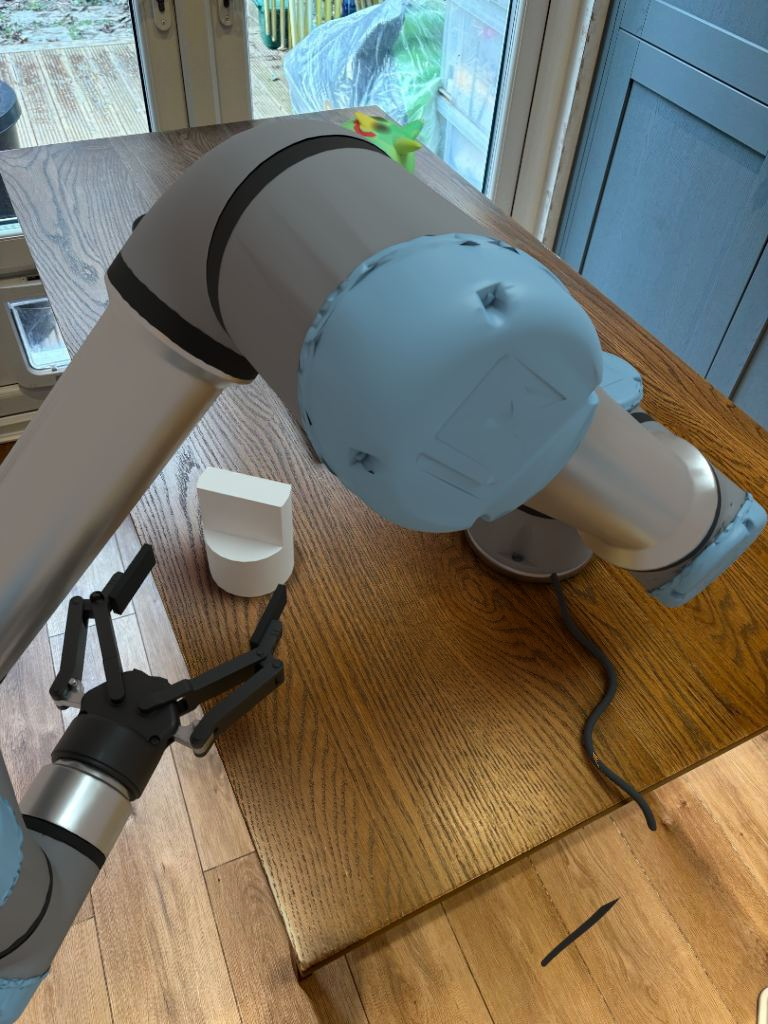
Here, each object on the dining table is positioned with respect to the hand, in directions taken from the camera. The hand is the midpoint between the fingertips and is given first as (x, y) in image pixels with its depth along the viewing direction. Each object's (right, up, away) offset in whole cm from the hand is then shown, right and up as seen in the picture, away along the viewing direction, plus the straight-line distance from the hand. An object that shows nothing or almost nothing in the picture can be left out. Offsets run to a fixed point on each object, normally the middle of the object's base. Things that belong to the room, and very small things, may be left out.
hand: (216, 572), depth 71 cm
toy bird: (+14, +62, +66) cm, 92 cm away
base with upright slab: (+2, 0, +10) cm, 10 cm away
